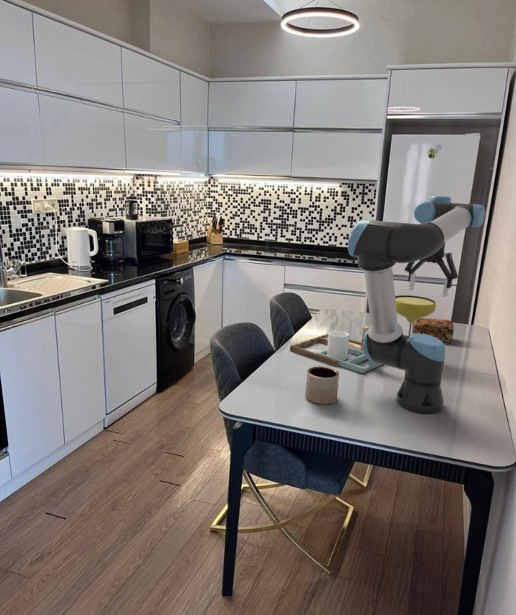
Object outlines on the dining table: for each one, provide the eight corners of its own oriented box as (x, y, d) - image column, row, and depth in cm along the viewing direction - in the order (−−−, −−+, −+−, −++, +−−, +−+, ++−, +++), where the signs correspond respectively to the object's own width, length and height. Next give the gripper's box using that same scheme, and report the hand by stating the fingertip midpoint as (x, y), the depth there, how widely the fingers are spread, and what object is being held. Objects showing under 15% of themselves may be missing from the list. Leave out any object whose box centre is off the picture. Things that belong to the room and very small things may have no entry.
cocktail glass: (404, 365, 197) (411, 306, 190) (377, 350, 212) (383, 296, 206) (437, 360, 204) (445, 303, 198) (408, 346, 220) (415, 294, 214)
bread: (450, 338, 236) (453, 318, 234) (452, 344, 226) (455, 324, 224) (411, 333, 241) (413, 314, 239) (411, 339, 232) (413, 319, 229)
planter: (329, 408, 155) (331, 381, 153) (299, 399, 161) (301, 373, 158) (341, 396, 164) (344, 371, 162) (313, 388, 170) (315, 363, 167)
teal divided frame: (362, 373, 185) (365, 344, 182) (316, 357, 200) (318, 330, 197) (384, 363, 197) (387, 335, 194) (339, 348, 212) (342, 323, 209)
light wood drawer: (362, 354, 206) (364, 328, 203) (320, 341, 221) (322, 317, 218) (370, 350, 211) (373, 325, 208) (329, 338, 226) (331, 314, 223)
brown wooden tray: (335, 366, 192) (335, 361, 191) (289, 350, 208) (290, 345, 207) (372, 350, 212) (373, 346, 212) (328, 337, 228) (329, 333, 228)
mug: (353, 355, 205) (356, 331, 203) (341, 362, 196) (343, 338, 193) (336, 350, 210) (338, 327, 207) (322, 357, 201) (324, 333, 198)
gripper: (472, 241, 174) (463, 297, 179) (409, 234, 190) (402, 286, 195) (464, 242, 168) (456, 300, 174) (400, 235, 185) (393, 288, 190)
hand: (427, 293), depth 184 cm, fingers open, 13 cm apart
